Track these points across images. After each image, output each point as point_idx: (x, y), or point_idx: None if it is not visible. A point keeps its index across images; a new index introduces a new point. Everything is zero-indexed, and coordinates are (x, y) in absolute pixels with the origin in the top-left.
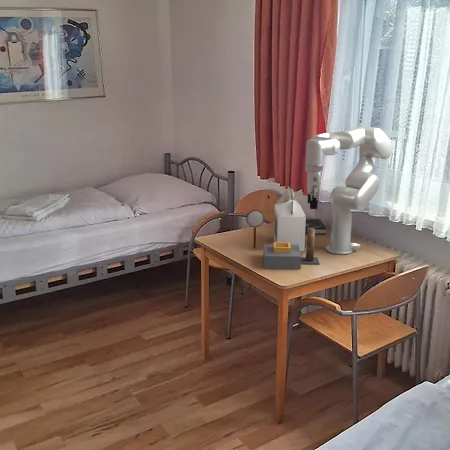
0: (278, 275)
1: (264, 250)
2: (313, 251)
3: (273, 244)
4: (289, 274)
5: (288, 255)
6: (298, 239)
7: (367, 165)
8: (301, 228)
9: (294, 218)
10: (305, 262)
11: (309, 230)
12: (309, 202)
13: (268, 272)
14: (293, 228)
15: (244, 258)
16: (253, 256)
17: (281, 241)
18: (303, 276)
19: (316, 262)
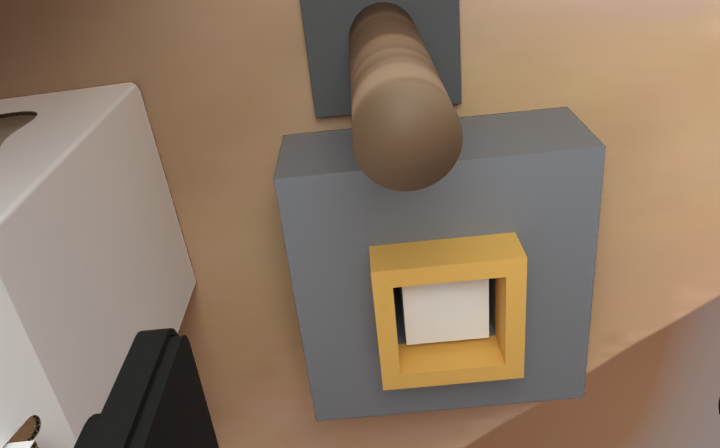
0: (674, 249)
1: (462, 406)
2: (406, 25)
3: (424, 381)
4: (663, 182)
5: (573, 246)
6: (121, 177)
7: None
8: (70, 206)
9: (51, 356)
10: (438, 72)
11: (455, 160)
12: (210, 442)
13: (617, 308)
14: (101, 286)
15: (379, 444)
16: None
17: (170, 302)
18: (713, 83)
19: None
